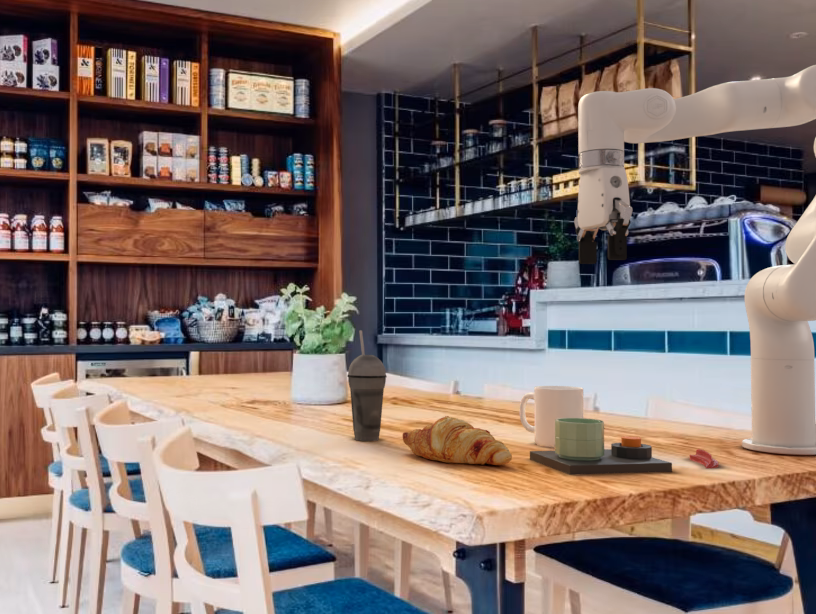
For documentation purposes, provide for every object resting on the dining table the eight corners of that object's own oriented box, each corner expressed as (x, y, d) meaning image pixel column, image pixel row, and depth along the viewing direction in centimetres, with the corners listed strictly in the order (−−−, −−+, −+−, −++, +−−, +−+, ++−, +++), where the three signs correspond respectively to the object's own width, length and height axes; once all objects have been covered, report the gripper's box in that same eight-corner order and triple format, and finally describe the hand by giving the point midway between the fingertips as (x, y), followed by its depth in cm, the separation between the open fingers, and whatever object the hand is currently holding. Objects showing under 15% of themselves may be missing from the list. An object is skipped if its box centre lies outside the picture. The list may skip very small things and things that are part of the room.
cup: (568, 450, 140) (568, 390, 141) (507, 442, 149) (507, 386, 150) (592, 445, 146) (592, 387, 147) (532, 438, 155) (531, 383, 155)
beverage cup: (385, 442, 148) (385, 330, 149) (344, 441, 149) (345, 330, 150) (387, 437, 155) (388, 330, 156) (349, 436, 156) (349, 330, 157)
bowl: (588, 453, 129) (588, 417, 129) (613, 460, 122) (612, 423, 122) (546, 453, 128) (546, 418, 128) (568, 461, 121) (568, 423, 121)
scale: (625, 457, 133) (624, 438, 133) (674, 472, 120) (674, 451, 121) (529, 460, 131) (529, 440, 131) (569, 475, 118) (569, 454, 118)
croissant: (522, 489, 124) (536, 439, 127) (487, 464, 118) (503, 413, 121) (413, 467, 140) (428, 423, 142) (377, 444, 134) (394, 399, 137)
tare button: (634, 446, 128) (634, 436, 128) (644, 449, 125) (644, 438, 125) (617, 446, 128) (617, 436, 128) (627, 449, 125) (627, 439, 125)
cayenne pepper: (691, 456, 135) (691, 444, 135) (723, 458, 133) (723, 446, 133) (682, 467, 125) (682, 454, 125) (716, 470, 123) (716, 456, 123)
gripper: (649, 155, 137) (650, 258, 136) (595, 173, 154) (596, 265, 153) (607, 153, 136) (608, 257, 135) (557, 172, 153) (558, 264, 152)
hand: (602, 261), depth 144 cm, fingers open, 9 cm apart
